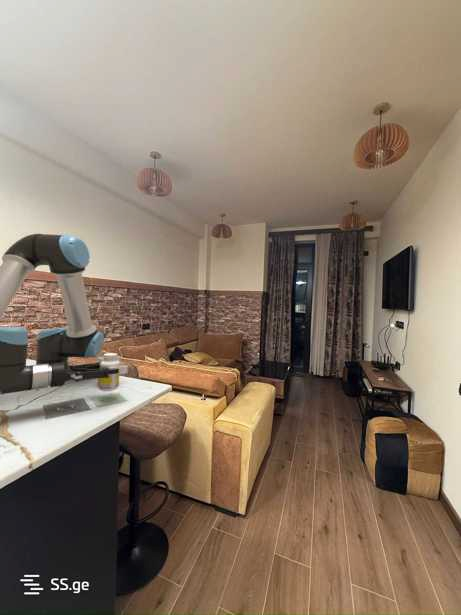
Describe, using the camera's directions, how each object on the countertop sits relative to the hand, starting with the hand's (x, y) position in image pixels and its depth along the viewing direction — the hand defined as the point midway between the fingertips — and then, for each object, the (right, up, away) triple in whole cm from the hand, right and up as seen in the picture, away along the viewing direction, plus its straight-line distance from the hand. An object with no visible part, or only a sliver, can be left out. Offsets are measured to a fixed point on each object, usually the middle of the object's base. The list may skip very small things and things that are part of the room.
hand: (123, 367), depth 92 cm
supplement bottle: (-4, -7, -3) cm, 9 cm away
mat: (-4, -11, -3) cm, 12 cm away
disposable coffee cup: (-13, -11, +13) cm, 22 cm away
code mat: (-14, -11, -12) cm, 21 cm away
